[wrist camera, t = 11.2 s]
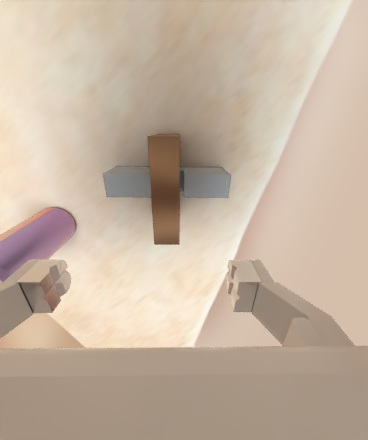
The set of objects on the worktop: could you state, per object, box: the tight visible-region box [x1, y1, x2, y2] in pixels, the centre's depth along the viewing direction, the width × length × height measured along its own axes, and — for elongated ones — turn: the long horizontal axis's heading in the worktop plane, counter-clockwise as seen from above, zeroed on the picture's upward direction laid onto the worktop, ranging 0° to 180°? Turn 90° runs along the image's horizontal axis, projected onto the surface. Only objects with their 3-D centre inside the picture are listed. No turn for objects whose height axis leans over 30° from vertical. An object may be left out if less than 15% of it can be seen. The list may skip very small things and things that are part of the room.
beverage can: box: [0, 208, 75, 283], centre depth 26 cm, size 6×6×15 cm
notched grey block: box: [103, 166, 231, 198], centre depth 27 cm, size 3×16×6 cm, turn 89°
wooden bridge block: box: [148, 134, 180, 244], centre depth 25 cm, size 12×3×10 cm, turn 179°
